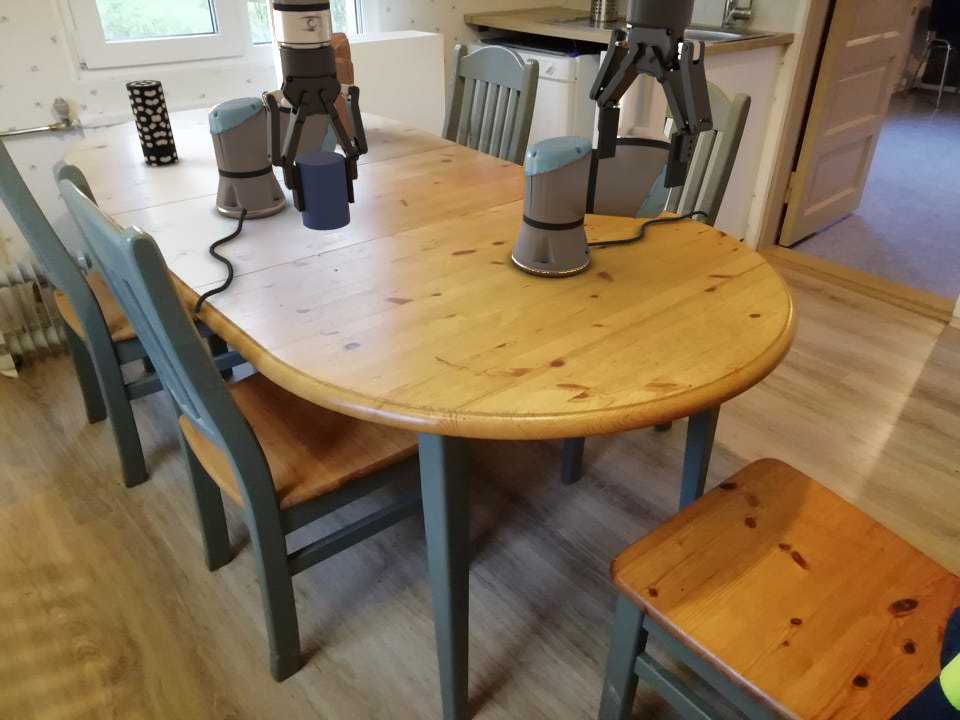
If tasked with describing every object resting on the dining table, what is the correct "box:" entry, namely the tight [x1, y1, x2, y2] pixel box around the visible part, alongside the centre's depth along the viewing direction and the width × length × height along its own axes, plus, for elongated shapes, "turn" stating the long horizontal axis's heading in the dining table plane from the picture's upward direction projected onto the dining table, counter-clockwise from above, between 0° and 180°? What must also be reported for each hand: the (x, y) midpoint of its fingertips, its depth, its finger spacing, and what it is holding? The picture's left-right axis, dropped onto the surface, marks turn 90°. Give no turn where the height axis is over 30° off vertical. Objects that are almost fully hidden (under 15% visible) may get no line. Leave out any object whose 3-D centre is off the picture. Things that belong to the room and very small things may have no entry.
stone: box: [329, 31, 355, 144], centre depth 203 cm, size 22×11×28 cm, turn 18°
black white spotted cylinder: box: [125, 79, 179, 167], centre depth 181 cm, size 8×8×20 cm
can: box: [294, 151, 351, 232], centre depth 105 cm, size 7×7×10 cm
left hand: (324, 204), depth 107 cm, fingers closed on can, 7 cm apart
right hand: (637, 171), depth 90 cm, fingers open, 13 cm apart
